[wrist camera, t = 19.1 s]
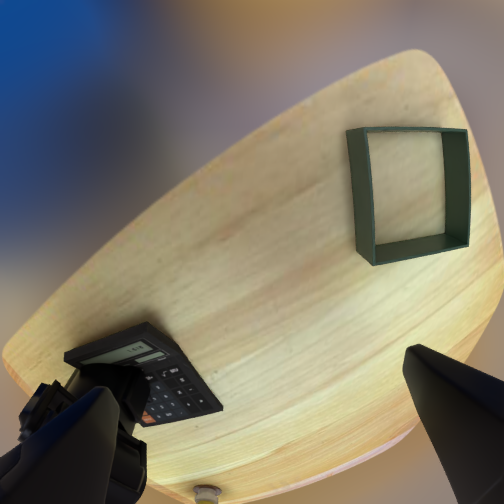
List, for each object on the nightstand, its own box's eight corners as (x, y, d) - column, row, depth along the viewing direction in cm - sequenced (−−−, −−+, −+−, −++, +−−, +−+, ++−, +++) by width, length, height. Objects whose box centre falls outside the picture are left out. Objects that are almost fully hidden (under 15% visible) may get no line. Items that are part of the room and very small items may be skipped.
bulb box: (356, 251, 20) (372, 266, 17) (345, 130, 18) (363, 127, 15) (446, 235, 20) (468, 246, 17) (442, 129, 17) (467, 129, 15)
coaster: (197, 495, 31) (197, 496, 31) (189, 484, 30) (189, 485, 30) (224, 495, 31) (224, 496, 31) (217, 484, 30) (217, 485, 30)
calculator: (145, 421, 26) (139, 442, 23) (74, 338, 22) (60, 357, 20) (223, 404, 25) (222, 427, 22) (154, 306, 21) (143, 327, 19)
